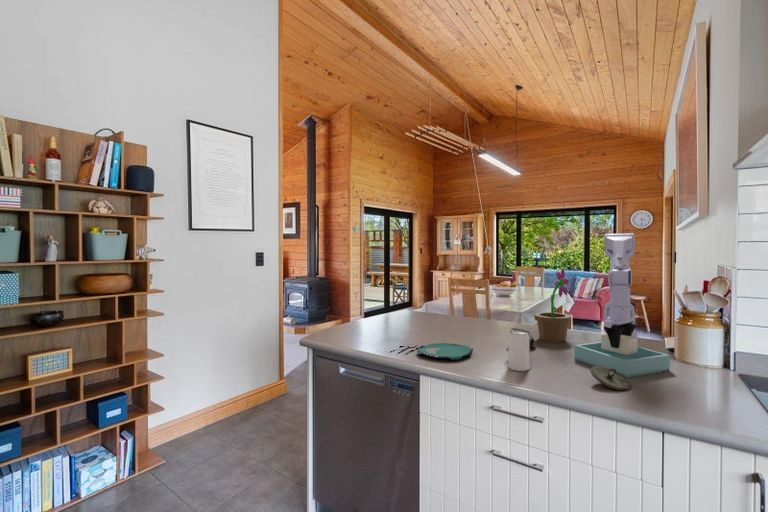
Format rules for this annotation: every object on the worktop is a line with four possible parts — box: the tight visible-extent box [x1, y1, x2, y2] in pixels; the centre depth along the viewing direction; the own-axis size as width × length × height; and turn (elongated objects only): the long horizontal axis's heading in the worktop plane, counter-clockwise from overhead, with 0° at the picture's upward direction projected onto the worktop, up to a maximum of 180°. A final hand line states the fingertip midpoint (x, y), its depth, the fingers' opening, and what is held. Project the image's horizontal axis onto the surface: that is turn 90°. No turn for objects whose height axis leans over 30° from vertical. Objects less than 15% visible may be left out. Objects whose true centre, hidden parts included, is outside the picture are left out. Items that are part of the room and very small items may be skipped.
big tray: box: [574, 341, 671, 379], centre depth 127 cm, size 18×20×5 cm
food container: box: [510, 327, 533, 348], centre depth 134 cm, size 12×6×10 cm, turn 168°
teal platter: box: [416, 342, 474, 361], centre depth 146 cm, size 20×30×2 cm, turn 57°
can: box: [507, 330, 530, 372], centre depth 125 cm, size 6×6×12 cm
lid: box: [589, 366, 632, 391], centre depth 110 cm, size 11×10×5 cm
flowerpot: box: [533, 268, 572, 343], centre depth 161 cm, size 14×14×30 cm
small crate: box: [600, 332, 639, 355], centre depth 127 cm, size 5×9×5 cm, turn 29°
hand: (619, 346), depth 127 cm, fingers closed on small crate, 5 cm apart
